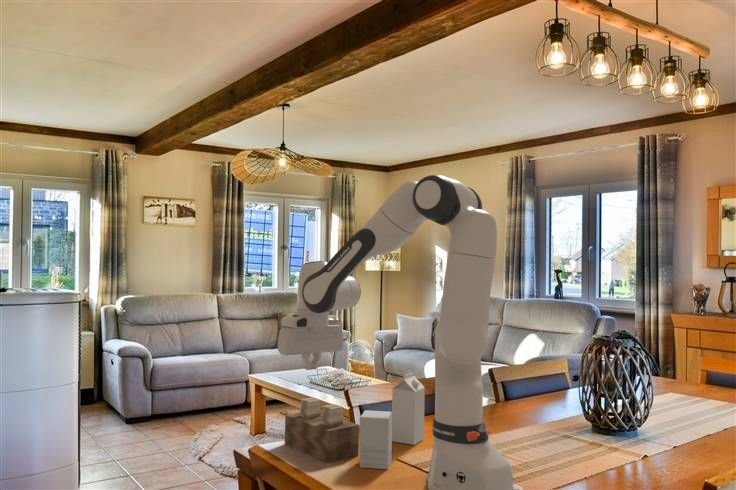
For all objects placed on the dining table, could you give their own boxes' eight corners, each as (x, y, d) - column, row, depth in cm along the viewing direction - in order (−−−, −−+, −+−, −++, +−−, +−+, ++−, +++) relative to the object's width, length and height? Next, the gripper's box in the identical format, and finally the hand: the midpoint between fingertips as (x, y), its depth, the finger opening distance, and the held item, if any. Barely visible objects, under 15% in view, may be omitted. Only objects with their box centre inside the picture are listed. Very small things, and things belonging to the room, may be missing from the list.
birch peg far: (320, 425, 169) (321, 400, 169) (308, 427, 167) (309, 401, 167) (312, 422, 172) (312, 397, 172) (300, 424, 170) (300, 399, 170)
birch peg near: (342, 433, 162) (343, 406, 162) (330, 436, 159) (331, 409, 159) (333, 430, 165) (334, 404, 165) (321, 432, 162) (322, 406, 162)
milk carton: (391, 441, 174) (392, 374, 175) (401, 435, 180) (402, 370, 181) (414, 445, 171) (415, 377, 171) (424, 439, 177) (425, 373, 178)
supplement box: (392, 460, 157) (393, 411, 158) (387, 470, 150) (388, 418, 150) (363, 458, 159) (364, 409, 159) (358, 467, 151) (359, 416, 152)
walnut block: (358, 455, 161) (359, 424, 161) (327, 462, 155) (328, 430, 155) (314, 438, 176) (314, 409, 176) (284, 444, 170) (285, 415, 170)
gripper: (335, 317, 179) (333, 364, 179) (275, 319, 166) (273, 370, 166) (349, 319, 175) (347, 367, 174) (288, 321, 161) (286, 374, 161)
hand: (310, 369), depth 170 cm, fingers closed
